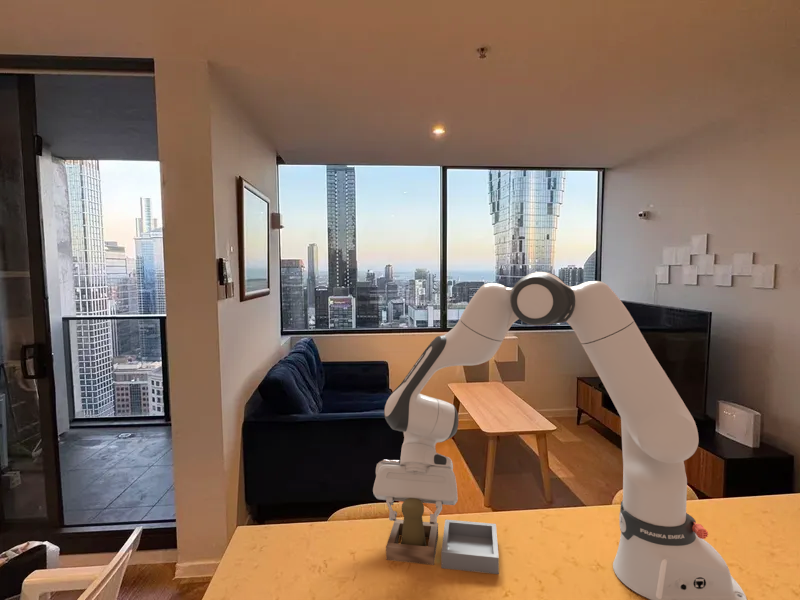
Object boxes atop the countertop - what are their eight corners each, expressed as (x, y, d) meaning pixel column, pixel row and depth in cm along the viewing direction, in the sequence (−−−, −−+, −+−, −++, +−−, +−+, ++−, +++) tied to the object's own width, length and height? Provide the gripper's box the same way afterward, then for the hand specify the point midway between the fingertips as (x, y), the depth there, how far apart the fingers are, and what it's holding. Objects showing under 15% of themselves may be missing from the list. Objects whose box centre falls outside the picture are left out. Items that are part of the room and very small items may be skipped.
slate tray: (495, 538, 99) (495, 523, 99) (498, 574, 88) (498, 557, 87) (445, 533, 102) (445, 519, 101) (441, 568, 90) (441, 552, 90)
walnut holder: (438, 534, 101) (438, 522, 101) (434, 564, 91) (433, 551, 91) (395, 530, 103) (395, 519, 103) (386, 559, 93) (386, 546, 92)
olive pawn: (424, 557, 93) (423, 509, 93) (398, 553, 95) (397, 507, 94) (428, 540, 99) (427, 495, 99) (403, 537, 101) (402, 493, 100)
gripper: (375, 454, 104) (366, 514, 95) (457, 459, 101) (456, 522, 92) (379, 463, 109) (371, 521, 100) (458, 468, 105) (457, 529, 96)
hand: (412, 521), depth 96 cm, fingers open, 8 cm apart
